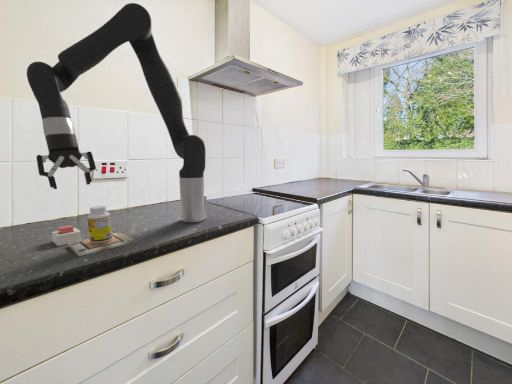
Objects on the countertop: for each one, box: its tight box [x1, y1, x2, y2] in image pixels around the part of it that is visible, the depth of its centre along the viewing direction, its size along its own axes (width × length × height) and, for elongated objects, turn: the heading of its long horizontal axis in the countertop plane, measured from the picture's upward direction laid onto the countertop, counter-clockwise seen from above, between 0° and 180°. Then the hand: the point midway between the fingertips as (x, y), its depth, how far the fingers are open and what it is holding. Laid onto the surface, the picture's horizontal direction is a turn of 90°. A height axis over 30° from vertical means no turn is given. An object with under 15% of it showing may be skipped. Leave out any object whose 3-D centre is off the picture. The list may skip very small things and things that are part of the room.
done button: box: [57, 224, 74, 234], centre depth 76 cm, size 3×3×2 cm
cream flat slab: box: [67, 232, 135, 257], centre depth 74 cm, size 14×11×1 cm
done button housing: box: [51, 227, 83, 247], centre depth 77 cm, size 6×6×3 cm
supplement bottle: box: [87, 205, 113, 244], centre depth 73 cm, size 6×6×10 cm
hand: (72, 186), depth 79 cm, fingers open, 8 cm apart
